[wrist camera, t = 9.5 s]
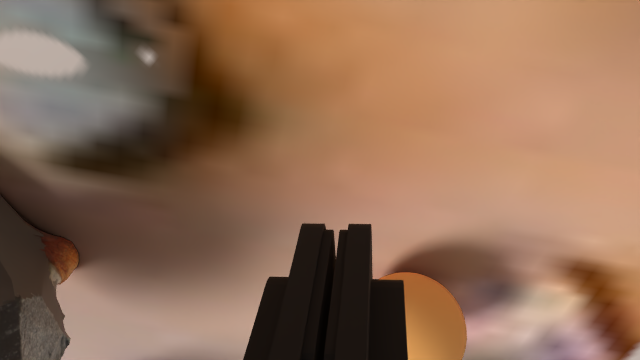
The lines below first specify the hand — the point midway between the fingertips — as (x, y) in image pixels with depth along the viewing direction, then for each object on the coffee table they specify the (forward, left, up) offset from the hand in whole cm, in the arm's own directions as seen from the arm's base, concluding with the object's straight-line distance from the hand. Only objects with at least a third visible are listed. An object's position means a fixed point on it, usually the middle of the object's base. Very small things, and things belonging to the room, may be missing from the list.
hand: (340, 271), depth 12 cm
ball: (+12, +2, -9) cm, 15 cm away
